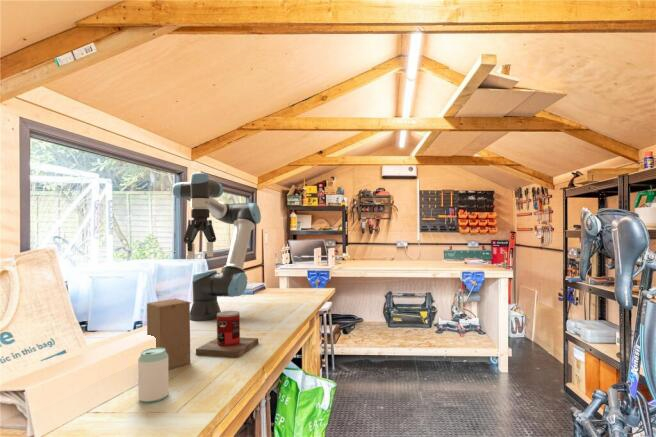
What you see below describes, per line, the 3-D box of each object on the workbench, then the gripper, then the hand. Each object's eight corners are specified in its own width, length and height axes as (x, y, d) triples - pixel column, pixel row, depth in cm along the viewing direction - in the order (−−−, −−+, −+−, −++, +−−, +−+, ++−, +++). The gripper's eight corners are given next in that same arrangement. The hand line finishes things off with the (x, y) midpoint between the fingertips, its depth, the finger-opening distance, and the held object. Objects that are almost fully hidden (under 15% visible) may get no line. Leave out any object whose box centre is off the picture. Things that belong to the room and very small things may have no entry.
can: (165, 402, 94) (164, 353, 94) (134, 405, 92) (134, 356, 92) (171, 390, 100) (170, 345, 101) (142, 393, 99) (142, 347, 99)
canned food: (216, 342, 137) (215, 312, 138) (238, 339, 140) (237, 309, 141) (218, 347, 130) (218, 316, 131) (241, 344, 133) (241, 313, 134)
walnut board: (220, 341, 145) (220, 336, 145) (258, 343, 141) (258, 338, 141) (195, 354, 130) (195, 348, 130) (237, 357, 125) (237, 351, 125)
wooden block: (191, 363, 121) (190, 301, 122) (159, 372, 114) (159, 306, 114) (177, 356, 128) (176, 298, 129) (146, 365, 121) (146, 302, 121)
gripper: (189, 206, 149) (190, 260, 148) (223, 209, 173) (224, 255, 172) (173, 207, 151) (174, 260, 150) (209, 210, 175) (209, 255, 174)
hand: (201, 258), depth 161 cm, fingers open, 13 cm apart
